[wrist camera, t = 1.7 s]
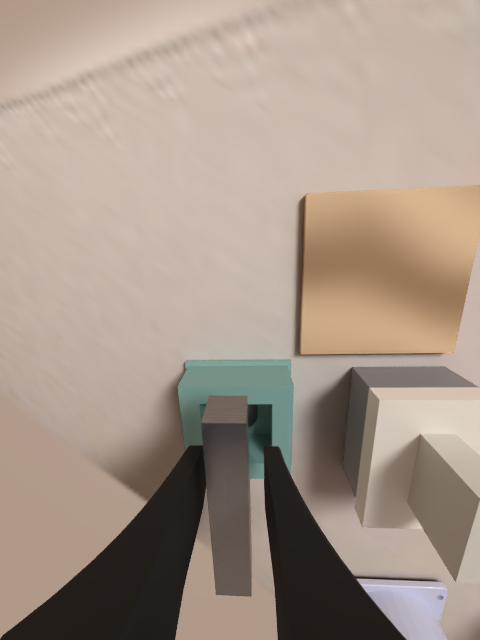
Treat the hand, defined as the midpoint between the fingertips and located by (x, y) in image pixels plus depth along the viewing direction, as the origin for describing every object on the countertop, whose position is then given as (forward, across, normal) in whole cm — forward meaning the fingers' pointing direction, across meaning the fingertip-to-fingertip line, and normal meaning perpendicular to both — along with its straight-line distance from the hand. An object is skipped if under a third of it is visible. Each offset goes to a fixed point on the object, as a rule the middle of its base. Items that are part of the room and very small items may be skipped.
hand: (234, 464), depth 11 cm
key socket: (+4, 0, 0) cm, 4 cm away
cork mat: (+4, -8, -8) cm, 11 cm away
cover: (+2, -9, +1) cm, 9 cm away
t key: (+4, 0, 0) cm, 4 cm away
